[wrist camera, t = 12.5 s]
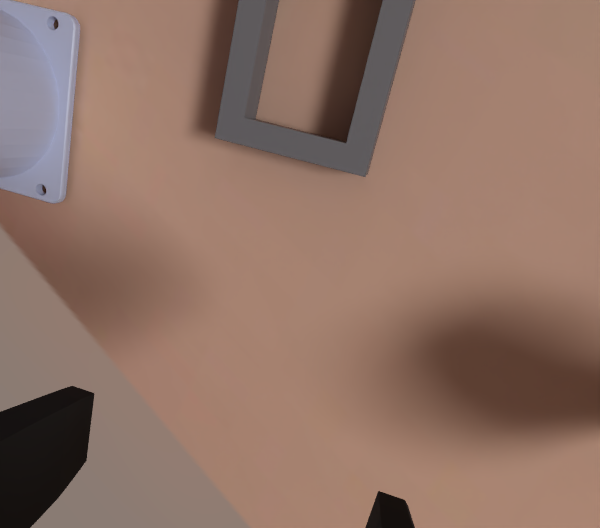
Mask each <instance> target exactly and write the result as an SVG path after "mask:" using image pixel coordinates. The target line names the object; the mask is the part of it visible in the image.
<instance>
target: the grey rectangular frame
mask: <svg viewBox="0 0 600 528" xmlns="http://www.w3.org/2000/svg"><path fill="white" fill-rule="evenodd" d="M278 2H279V0H239V2H238V8H237V14H236V20H235V25H234V31H233V37H232V42H231V48H230V54H229V60H228V65H227V71H226V77H225V82H224V88H223V94H222V100H221V105H220V111H219V117H218V122H217V128H216V134H215V138H217V139H221V140H225V141H229V142H233V143H236V144H240V145H244V146H248V147H252V148H256V149H260V150H263V151H267V152H271V153H275V154H279V155H283V156H287V157H290V158H294V159H298V160H302V161H306V162H310V163H314V164H317V165H321V166H325V167H329V168H333V169H337V170H341V171H344V172H348V173H352V174H356V175H360V176H364V177H366V175H367V174H368V171H369V167H370V164H371V160H372V156H373V153H374V149H375V146H376V142H377V138H378V135H379V131H380V127H381V124H382V120H383V117H384V113H385V109H386V106H387V102H388V98H389V95H390V91H391V87H392V84H393V80H394V77H395V73H396V69H397V66H398V62H399V58H400V55H401V51H402V47H403V44H404V40H405V37H406V33H407V29H408V26H409V22H410V18H411V15H412V11H413V8H414V4H415V0H383V2H382V6H381V9H380V13H379V17H378V21H377V25H376V29H375V33H374V37H373V41H372V45H371V48H370V52H369V56H368V60H367V64H366V68H365V72H364V76H363V80H362V84H361V87H360V91H359V95H358V99H357V103H356V107H355V111H354V115H353V119H352V122H351V126H350V130H349V134H348V138H347V142H344V141H340V140H336V139H332V138H328V137H324V136H320V135H316V134H312V133H308V132H304V131H300V130H296V129H292V128H288V127H284V126H280V125H276V124H272V123H268V122H264V121H260V120H256V114H257V109H258V103H259V98H260V93H261V88H262V83H263V78H264V73H265V68H266V63H267V58H268V53H269V48H270V43H271V38H272V33H273V28H274V23H275V17H276V12H277V7H278Z"/></svg>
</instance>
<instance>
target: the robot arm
mask: <svg viewBox="0 0 600 528" xmlns="http://www.w3.org/2000/svg"><path fill="white" fill-rule="evenodd" d="M56 19H57V20H58V24H59V25H58V28H57V29H56V30H55V28H54V21H55V20H56ZM79 37H80V25H79V22H78V20H77V19H76V18H75V17H74V16H72V15H70V14H67V13H64V12H60V11H56V10H51V9H47V8H43V7H39V6H34V5H30V4H26V3H21V2H17V1H13V0H0V189H4V190H7V191H11V192H14V193H18V194H21V195H24V196H28V197H31V198H35V199H38V200H42V201H45V202H49V203H59V202H62V201H63V200H64V199H65V196H66V188H67V176H68V165H69V153H70V142H71V130H72V118H73V107H74V95H75V83H76V72H77V60H78V49H79ZM43 185H44V186H45V188H46V194H45V193H44V192H43V190H42V186H43ZM93 400H94V393H92V392H89V391H86V390H83V389H80V388H77V387H74V386H71V387H67V388H64V389H61V390H58V391H56V392H53V393H50V394H48V395H45V396H42V397H39V398H36V399H34V400H31V401H28V402H26V403H23V404H20V405H18V406H15V407H12V408H10V409H7V410H4V411H1V412H0V528H30V527H31V526H32V525H33V524H34V523H35V522H36V521H37V520H38V519H39V518H40V517H41V516H42V515H43V513H45V511H46V510H47V509H48V508H49V507H50V506H51V505H52V504H53V503H54V502H55V501H56V500H57V498H58V497H59V496H60V495H61V494H62V492H63V491H64V490H65V488H66V487H67V486H68V485H69V483H70V482H71V481H72V479H73V478H74V477H75V475H76V474H77V473H78V471H79V470H80V469H81V467H82V466H83V464H84V463H85V462H86V458H87V450H88V442H89V434H90V425H91V417H92V408H93ZM366 528H415V527H414V524H413V521H412V518H411V514H410V511H409V508H408V505H407V503H406V501H405V500H403V499H400V498H397V497H394V496H392V495H389V494H386V493H383V492H380V491H378V494H377V496H376V499H375V502H374V505H373V508H372V511H371V514H370V516H369V519H368V522H367V525H366Z"/></svg>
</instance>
